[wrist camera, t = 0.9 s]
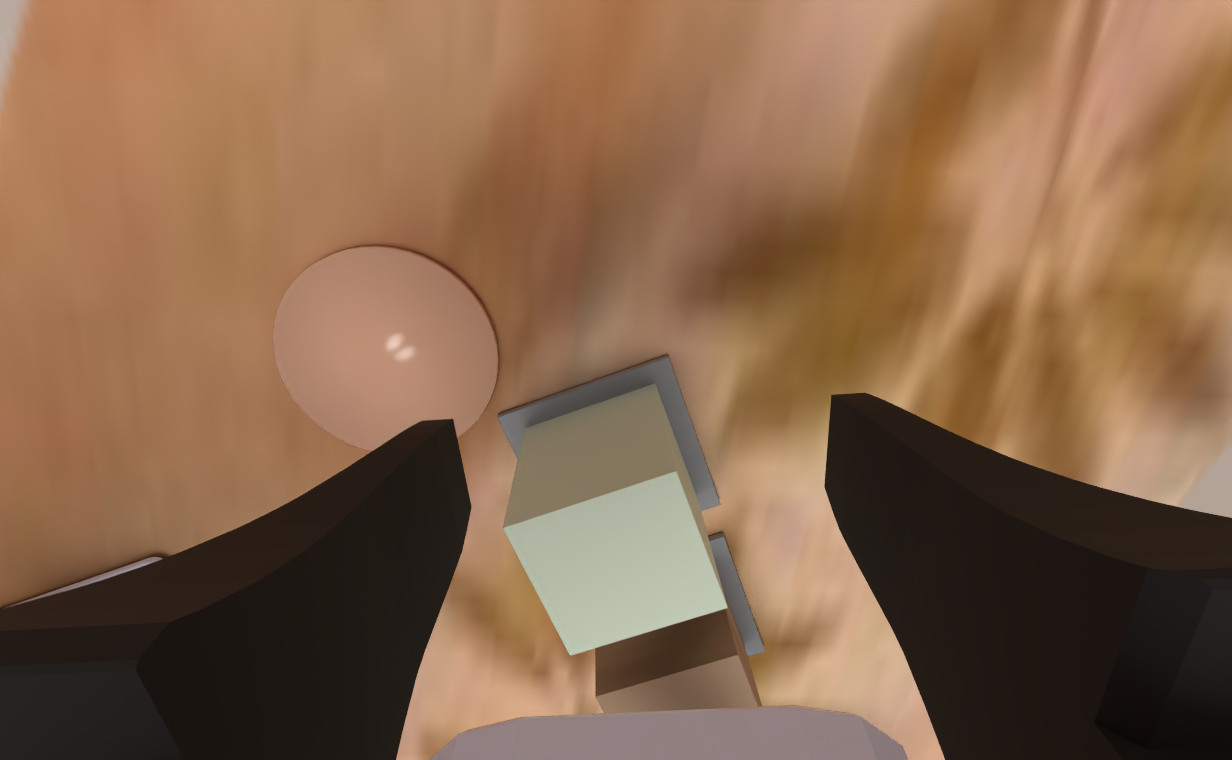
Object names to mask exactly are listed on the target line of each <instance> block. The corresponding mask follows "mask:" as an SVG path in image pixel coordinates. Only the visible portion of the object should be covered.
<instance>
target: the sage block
mask: <svg viewBox="0 0 1232 760" xmlns="http://www.w3.org/2000/svg"><path fill="white" fill-rule="evenodd" d="M503 529H504V531H505V533H506V535H507V537H508V539H509V541H510V543H511V544H512V546H513V548H514V550H515V552H516V554H517V556H518V558H519V560H520V562H521V563H522V565H523V567H524V569H525V571H526V573H527V575H528V577H529V579H530V580H531V582H532V584H533V586H534V588H535V590H536V592H537V594H538V596H539V598H540V599H541V601H542V603H543V605H544V607H545V609H546V611H547V613H548V615H549V616H550V618H551V620H552V622H553V624H554V626H555V628H556V630H557V632H558V634H559V635H560V637H561V639H562V641H563V643H564V645H565V647H566V649H567V651H568V652H569V654H570V656H571V655H574V654H577V653H581V652H584V651H587V650H591V649H594V648H597V647H600V646H604V645H607V644H610V643H614V642H617V641H620V640H624V639H627V638H630V637H633V636H637V635H640V634H643V633H647V632H650V631H653V630H656V629H660V628H663V627H666V626H670V625H673V624H676V623H680V622H683V621H686V620H689V619H693V618H696V617H699V616H703V615H706V614H709V613H712V612H716V611H719V610H722V609H726V608H728V607H727V603H726V600H725V596H724V592H723V589H722V585H721V582H720V578H719V574H718V571H717V567H716V564H715V560H714V556H713V553H712V549H711V546H710V542H709V538H708V535H707V531H706V528H705V524H704V520H703V517H702V513H701V510H700V506H699V502H698V499H697V495H696V493H695V490H694V487H693V484H692V482H691V479H690V476H689V474H688V471H687V468H686V465H685V463H684V460H683V457H682V455H681V452H680V449H679V446H678V444H677V441H676V438H675V436H674V433H673V430H672V427H671V425H670V422H669V419H668V417H667V414H666V411H665V408H664V406H663V403H662V400H661V398H660V395H659V392H658V390H657V387H656V384H652V385H649V386H646V387H643V388H640V389H637V390H634V391H632V392H629V393H626V394H623V395H620V396H617V397H614V398H611V399H608V400H606V401H603V402H600V403H597V404H594V405H591V406H588V407H585V408H582V409H580V410H577V411H574V412H571V413H568V414H565V415H562V416H559V417H556V418H554V419H551V420H548V421H545V422H542V423H539V424H536V425H533V426H530V427H528V428H525V430H524V435H523V439H522V444H521V449H520V453H519V458H518V462H517V467H516V471H515V476H514V480H513V485H512V489H511V494H510V498H509V503H508V507H507V512H506V516H505V521H504V525H503Z"/></svg>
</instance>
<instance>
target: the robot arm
mask: <svg viewBox="0 0 1232 760" xmlns="http://www.w3.org/2000/svg"><path fill="white" fill-rule="evenodd" d="M825 490H826V493H827V496H828V498H829V501H830V504H831V507H832V510H833V513H834V516H835V518H836V521H837V524H838V527H839V529H840V531H841V533H842V535H843V537H844V539H845V541H846V543H847V545H848V547H849V549H850V551H851V553H852V555H853V557H854V558H855V560H856V562H857V564H858V566H859V568H860V570H861V572H862V573H863V575H864V577H865V579H866V581H867V583H868V585H869V587H870V588H871V590H872V592H873V594H874V596H875V598H876V600H877V601H878V603H879V605H880V607H881V609H882V611H883V613H884V614H885V616H886V618H887V620H888V622H889V624H890V626H891V627H892V629H893V632H894V634H895V636H896V638H897V640H898V642H899V644H900V646H901V648H902V650H903V652H904V655H905V657H906V660H907V662H908V665H909V667H910V670H911V672H912V675H913V677H914V680H915V682H916V685H917V687H918V690H919V692H920V695H921V697H922V700H923V702H924V704H925V707H926V710H927V712H928V715H929V718H930V720H931V723H932V726H933V728H934V731H935V734H936V736H937V739H938V742H939V744H940V747H941V750H942V752H943V755H944V758H945V760H1232V518H1229V517H1224V516H1219V515H1213V514H1209V513H1204V512H1198V511H1193V510H1189V509H1184V508H1180V507H1175V506H1171V505H1166V504H1162V503H1158V502H1153V501H1149V500H1145V499H1142V498H1138V497H1134V496H1130V495H1126V494H1123V493H1119V492H1115V491H1111V490H1107V489H1104V488H1100V487H1097V486H1093V485H1090V484H1086V483H1083V482H1080V481H1076V480H1073V479H1070V478H1067V477H1064V476H1061V475H1058V474H1055V473H1052V472H1049V471H1046V470H1043V469H1040V468H1037V467H1034V466H1032V465H1029V464H1026V463H1023V462H1021V461H1018V460H1015V459H1013V458H1010V457H1008V456H1005V455H1003V454H1000V453H998V452H996V451H993V450H991V449H988V448H986V447H984V446H981V445H979V444H976V443H974V442H972V441H970V440H967V439H965V438H963V437H961V436H958V435H956V434H954V433H952V432H950V431H948V430H945V429H943V428H941V427H939V426H937V425H935V424H933V423H931V422H929V421H927V420H924V419H922V418H920V417H918V416H916V415H914V414H912V413H910V412H908V411H906V410H904V409H902V408H900V407H898V406H895V405H893V404H891V403H889V402H887V401H885V400H882V399H880V398H878V397H875V396H873V395H870V394H867V393H854V394H838V395H831V408H830V421H829V434H828V448H827V461H826V474H825ZM470 511H471V503H470V498H469V493H468V488H467V483H466V478H465V474H464V469H463V464H462V459H461V454H460V449H459V444H458V440H457V435H456V430H455V425H454V420H453V419H441V420H425V421H420V422H418V423H416V424H414V425H412V426H411V427H409V428H407V429H406V430H404V431H402V432H401V433H399V434H398V435H396V436H395V437H393V438H392V439H390V440H388V441H387V442H385V443H384V444H382V445H381V446H379V447H378V448H376V449H375V450H373V451H372V452H370V453H369V454H367V455H366V456H364V457H363V458H361V459H360V460H358V461H357V462H355V463H354V464H352V465H351V466H349V467H348V468H346V469H344V470H343V471H341V472H339V473H338V474H336V475H334V476H333V477H331V478H330V479H328V480H326V481H325V482H323V483H321V484H320V485H318V486H316V487H315V488H313V489H311V490H310V491H308V492H306V493H305V494H303V495H301V496H300V497H298V498H296V499H294V500H292V501H291V502H289V503H287V504H285V505H283V506H281V507H279V508H278V509H276V510H274V511H272V512H270V513H268V514H266V515H264V516H262V517H260V518H258V519H256V520H254V521H252V522H250V523H247V524H245V525H243V526H241V527H239V528H237V529H234V530H232V531H230V532H227V533H225V534H223V535H220V536H218V537H215V538H213V539H211V540H208V541H206V542H204V543H201V544H199V545H197V546H194V547H192V548H189V549H187V550H185V551H182V552H180V553H177V554H175V555H172V556H170V557H167V558H164V559H162V558H159V557H150V558H147V559H144V560H141V561H139V562H136V563H133V564H130V565H127V566H124V567H121V568H118V569H115V570H113V571H110V572H107V573H104V574H101V575H98V576H95V577H92V578H89V579H87V580H84V581H81V582H78V583H75V584H72V585H69V586H66V587H63V588H61V589H58V590H55V591H52V592H49V593H46V594H43V595H40V596H37V597H35V598H32V599H29V600H26V601H23V602H20V603H17V604H14V605H11V606H9V607H6V608H3V609H0V760H396V757H397V753H398V748H399V744H400V740H401V735H402V731H403V727H404V723H405V719H406V715H407V711H408V707H409V704H410V700H411V696H412V692H413V688H414V684H415V680H416V676H417V673H418V670H419V667H420V664H421V661H422V658H423V655H424V652H425V649H426V646H427V644H428V641H429V638H430V636H431V633H432V630H433V628H434V625H435V623H436V620H437V617H438V615H439V612H440V609H441V607H442V604H443V601H444V599H445V596H446V594H447V591H448V588H449V586H450V583H451V580H452V577H453V575H454V572H455V569H456V567H457V564H458V561H459V558H460V555H461V553H462V549H463V545H464V540H465V536H466V532H467V527H468V521H469V516H470ZM430 760H908V758H907V755H906V753H905V751H904V749H903V746H902V745H900V744H899V743H897V742H896V741H895V740H893V739H892V738H890V737H889V736H887V735H886V734H884V733H883V732H882V731H880V730H879V729H877V728H876V727H874V726H873V725H872V724H870V723H869V722H867V721H866V720H864V719H863V718H861V717H860V716H856V715H853V714H850V713H845V712H838V711H831V710H824V709H816V708H809V707H802V706H795V705H785V706H763V707H740V708H717V709H695V710H672V711H650V712H627V713H605V714H582V715H559V716H537V717H520V718H516V719H512V720H507V721H503V722H499V723H495V724H491V725H486V726H482V727H478V728H474V729H470V730H467V731H465V732H462V733H460V734H458V735H457V736H456V737H454V738H453V739H452V740H451V741H450V742H449V743H448V744H447V745H445V746H444V747H443V748H442V749H441V750H440V751H439V752H437V753H436V754H435V755H434V756H433V757H432V758H431V759H430Z"/></svg>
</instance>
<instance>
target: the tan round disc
mask: <svg viewBox="0 0 1232 760" xmlns="http://www.w3.org/2000/svg"><path fill="white" fill-rule="evenodd" d="M273 347H274V356H275V360H276V364H277V368H278V370H279V373H280V376H281V378H282V381H283V383H284V384H285V386H286V388H287V390H288V392H289V394H290V395H291V396H292V398H293V399H294V401H295V402H296V403H297V405H298V406H299V407H300V408H301V409H302V410H303V412H304V413H305V414H306V415H307V416H308V417H309V418H310V419H311V420H313V421H314V422H315V423H316V424H317V425H318V426H320V427H321V428H322V429H324V430H325V431H327V432H328V433H329V434H331V435H333V436H335V437H337V438H338V439H340V440H342V441H344V442H346V443H349V444H351V445H353V446H356V447H359V448H362V449H366V450H369V451H373V450H375V449H376V448H378V447H379V446H381V445H382V444H384V443H385V442H387V441H388V440H390V439H392V438H393V437H395V436H396V435H398V434H399V433H401V432H402V431H404V430H406V429H407V428H409V427H411V426H412V425H414V424H416V423H418V422H420V421H425V420H441V419H453V420H454V425H455V430H456V435H457V438H458V437H459V436H461V435H462V434H463V433H464V432H466V431H467V430H468V429H469V428H470V427H471V426H472V425H473V424H474V423H475V422H476V421H477V420H478V419H479V417H480V416H481V414H482V413H483V412H484V410H485V408H486V406H487V404H488V403H489V401H490V399H491V396H492V393H493V390H494V387H495V384H496V380H497V375H498V368H499V353H498V343H497V339H496V335H495V331H494V328H493V326H492V323H491V320H490V318H489V316H488V314H487V312H486V310H485V309H484V307H483V305H482V303H481V302H480V301H479V299H478V298H477V297H476V295H475V294H474V292H473V291H472V290H471V289H470V288H469V287H468V286H467V285H466V284H465V283H464V282H463V281H462V280H461V279H460V278H459V277H457V276H456V275H455V274H454V273H453V272H452V271H450V270H449V269H447V268H446V267H444V266H443V265H441V264H440V263H438V262H436V261H434V260H432V259H430V258H428V257H426V256H424V255H421V254H418V253H415V252H413V251H410V250H405V249H401V248H397V247H389V246H361V247H355V248H349V249H346V250H342V251H339V252H336V253H334V254H332V255H329V256H327V257H325V258H323V259H321V260H319V261H317V262H316V263H314V264H313V265H311V266H310V267H308V268H307V269H306V270H304V271H303V272H302V273H301V274H300V275H299V276H298V277H297V278H296V279H295V280H294V281H293V283H292V284H291V285H290V287H289V288H288V289H287V291H286V292H285V294H284V296H283V298H282V300H281V302H280V304H279V307H278V310H277V313H276V317H275V322H274V327H273Z"/></svg>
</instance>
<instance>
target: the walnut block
mask: <svg viewBox="0 0 1232 760" xmlns="http://www.w3.org/2000/svg"><path fill="white" fill-rule="evenodd" d="M720 582H721V581H720ZM721 585H722V584H721ZM722 589H723V587H722ZM723 592H724V589H723ZM724 596H725V600H726V603H727V607H728V608H726V609H722V610H719V611H716V612H712V613H709V614H706V615H703V616H699V617H696V618H693V619H689V620H686V621H683V622H680V623H676V624H673V625H670V626H666V627H663V628H660V629H656V630H653V631H650V632H647V633H643V634H640V635H637V636H633V637H630V638H627V639H624V640H620V641H617V642H614V643H610V644H607V645H604V646H600V647H597V648H595V657H596V698H597V700H598V702H599V704H600V706H601V708H602V710H603V712H604V714H605V713H627V712H650V711H672V710H695V709H717V708H740V707H762V704H761V701H760V697H759V694H758V691H757V687H756V684H755V680H754V677H753V673H752V670H751V666H750V663H749V660H748V656H747V653H746V649H745V646H744V643H743V640H742V637H741V635H740V632H739V629H738V627H737V624H736V621H735V619H734V616H733V613H732V611H731V608H730V605H729V603H728V600H727V597H726V595H725V592H724Z"/></svg>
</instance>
